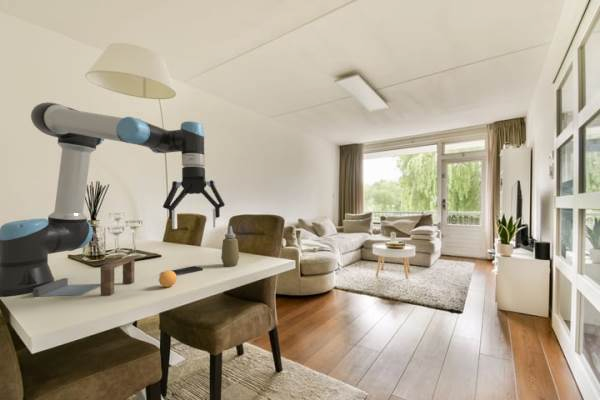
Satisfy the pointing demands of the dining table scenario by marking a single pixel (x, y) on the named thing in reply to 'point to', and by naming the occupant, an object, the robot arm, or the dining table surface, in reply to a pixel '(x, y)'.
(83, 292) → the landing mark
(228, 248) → the squeeze bottle
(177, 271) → the phone
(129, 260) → the bridge
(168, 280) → the ball
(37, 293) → the stopper wall
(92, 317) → the dining table surface
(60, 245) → the robot arm
